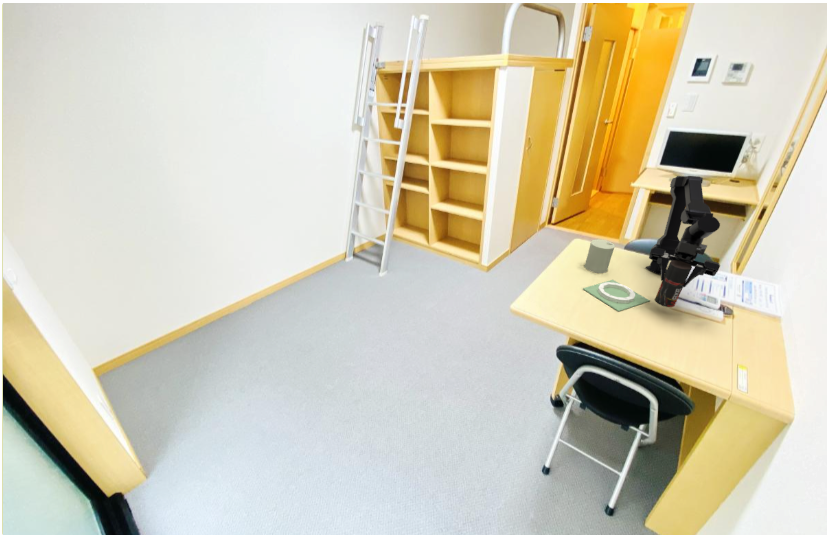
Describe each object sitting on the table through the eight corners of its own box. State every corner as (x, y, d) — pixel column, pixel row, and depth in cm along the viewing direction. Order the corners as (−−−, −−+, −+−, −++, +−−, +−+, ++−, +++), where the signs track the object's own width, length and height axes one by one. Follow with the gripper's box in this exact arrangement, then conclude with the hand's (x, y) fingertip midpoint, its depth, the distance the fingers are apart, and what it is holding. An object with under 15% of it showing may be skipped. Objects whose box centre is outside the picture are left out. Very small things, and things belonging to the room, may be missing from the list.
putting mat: (612, 280, 139) (613, 276, 138) (649, 301, 126) (651, 296, 125) (582, 289, 134) (583, 284, 133) (618, 311, 121) (619, 307, 120)
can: (611, 273, 144) (619, 247, 139) (589, 273, 145) (596, 247, 139) (601, 262, 152) (609, 238, 147) (580, 262, 153) (587, 238, 147)
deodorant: (667, 309, 116) (684, 270, 108) (650, 299, 121) (665, 262, 113) (678, 304, 118) (696, 266, 110) (662, 295, 123) (677, 258, 115)
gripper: (660, 225, 115) (642, 266, 113) (732, 240, 104) (713, 286, 102) (657, 238, 124) (640, 276, 122) (723, 254, 113) (705, 296, 111)
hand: (672, 283), depth 114 cm, fingers closed on deodorant, 6 cm apart
